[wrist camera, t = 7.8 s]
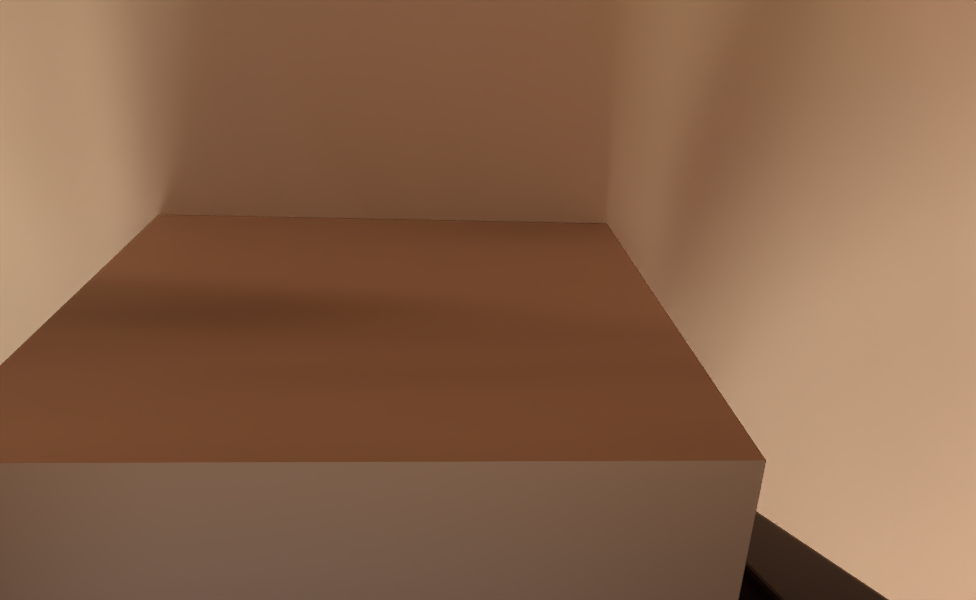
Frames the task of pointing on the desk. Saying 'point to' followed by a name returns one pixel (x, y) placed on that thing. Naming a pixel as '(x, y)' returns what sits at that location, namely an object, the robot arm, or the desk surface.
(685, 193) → the desk surface
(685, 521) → the walnut block
